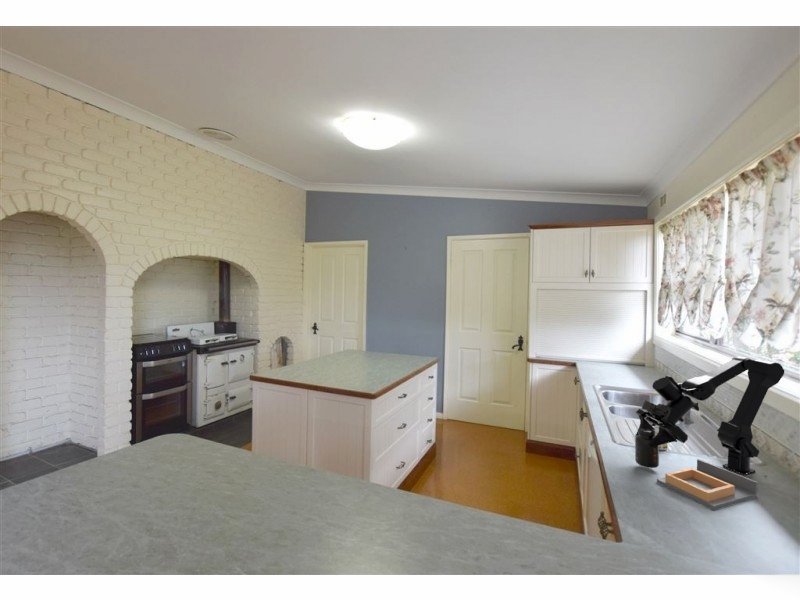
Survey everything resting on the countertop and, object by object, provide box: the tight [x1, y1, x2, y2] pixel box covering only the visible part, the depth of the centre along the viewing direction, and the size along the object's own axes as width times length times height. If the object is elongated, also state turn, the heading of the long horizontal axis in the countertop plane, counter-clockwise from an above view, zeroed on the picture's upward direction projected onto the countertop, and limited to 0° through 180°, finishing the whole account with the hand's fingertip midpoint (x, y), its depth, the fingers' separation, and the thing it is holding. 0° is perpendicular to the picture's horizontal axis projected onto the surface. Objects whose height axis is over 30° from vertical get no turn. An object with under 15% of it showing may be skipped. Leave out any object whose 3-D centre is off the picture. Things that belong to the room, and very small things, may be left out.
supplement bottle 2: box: [653, 425, 669, 451], centre depth 147 cm, size 5×5×10 cm
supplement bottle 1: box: [634, 427, 660, 469], centre depth 129 cm, size 7×7×12 cm
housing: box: [656, 458, 759, 511], centre depth 115 cm, size 20×16×5 cm
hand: (642, 441), depth 129 cm, fingers closed on supplement bottle 1, 7 cm apart
